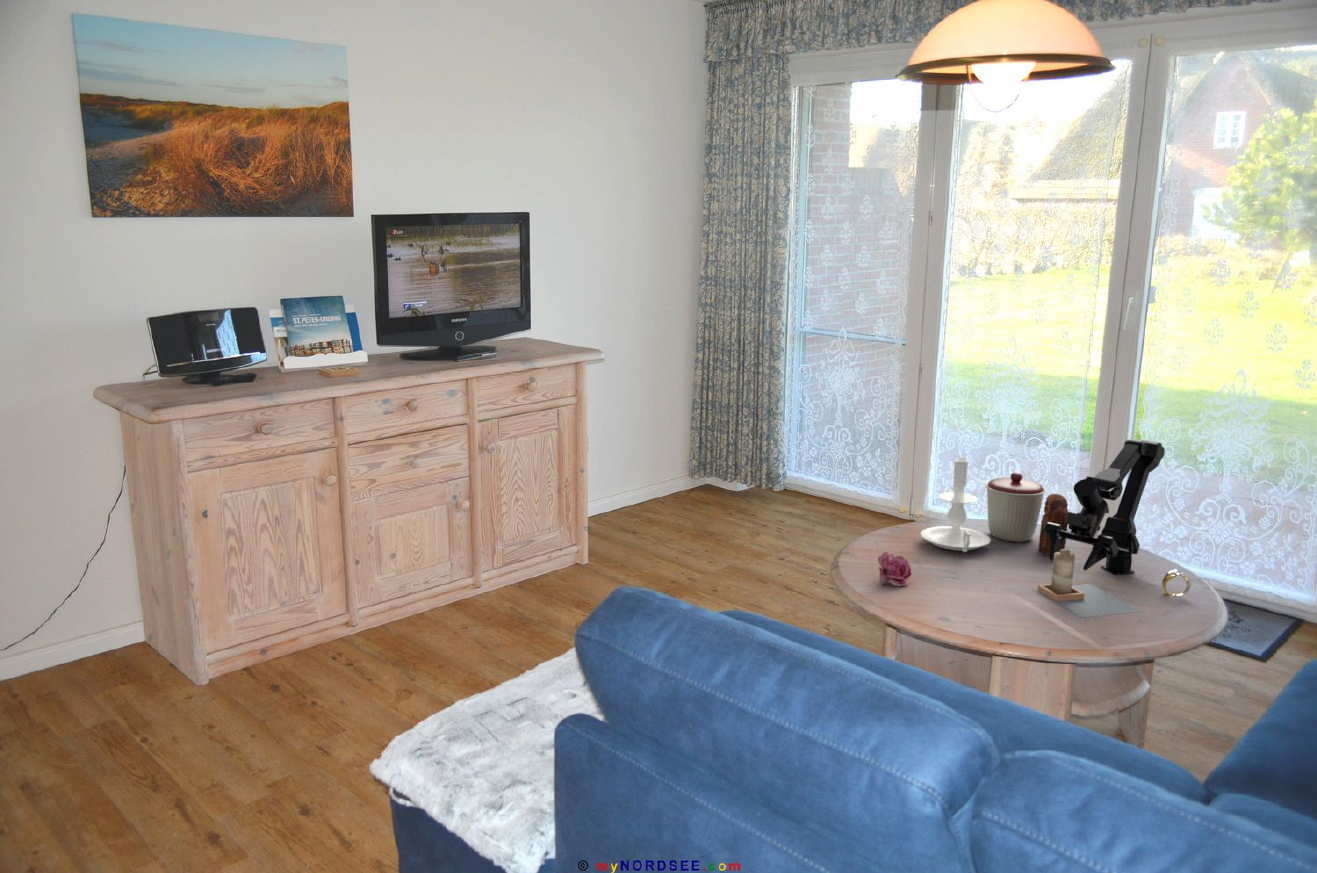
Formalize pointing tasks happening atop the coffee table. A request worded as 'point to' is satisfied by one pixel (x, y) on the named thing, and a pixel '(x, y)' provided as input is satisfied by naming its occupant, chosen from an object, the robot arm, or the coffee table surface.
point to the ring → (1176, 573)
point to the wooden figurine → (1053, 520)
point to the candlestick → (957, 517)
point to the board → (1087, 601)
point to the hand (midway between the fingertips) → (1067, 565)
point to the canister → (1013, 507)
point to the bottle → (1062, 572)
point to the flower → (894, 569)
